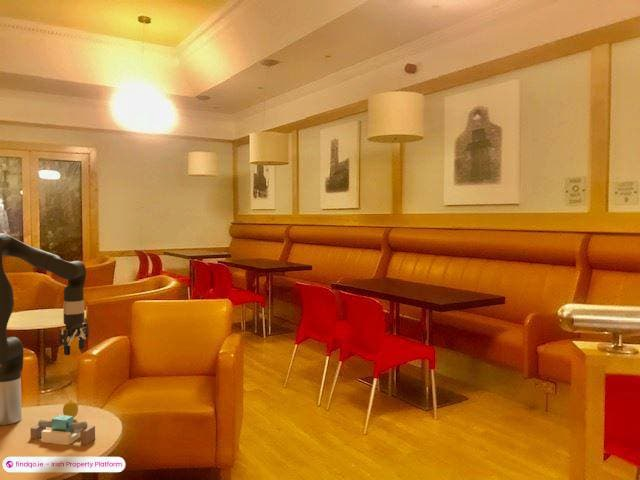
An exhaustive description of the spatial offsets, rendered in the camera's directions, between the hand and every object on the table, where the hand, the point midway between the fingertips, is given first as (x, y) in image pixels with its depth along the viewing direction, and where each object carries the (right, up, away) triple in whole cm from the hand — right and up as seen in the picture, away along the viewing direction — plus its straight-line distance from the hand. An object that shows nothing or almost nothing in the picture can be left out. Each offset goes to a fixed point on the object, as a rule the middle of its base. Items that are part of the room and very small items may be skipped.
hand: (74, 352), depth 208 cm
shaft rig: (+2, -29, -14) cm, 32 cm away
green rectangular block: (+2, -27, -14) cm, 31 cm away
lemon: (-3, -28, +3) cm, 28 cm away
